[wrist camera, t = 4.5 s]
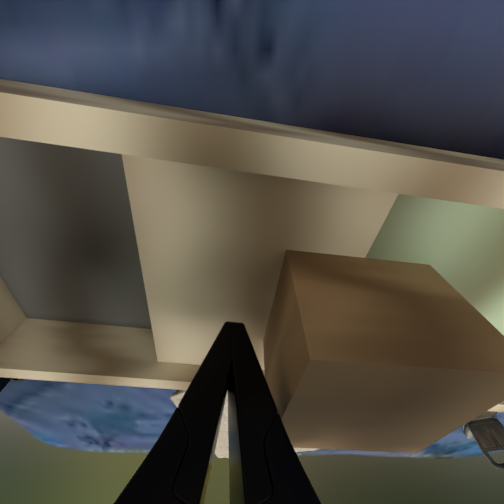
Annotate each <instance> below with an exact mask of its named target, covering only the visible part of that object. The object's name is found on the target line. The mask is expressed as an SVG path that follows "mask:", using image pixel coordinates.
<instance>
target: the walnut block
mask: <svg viewBox="0 0 504 504" xmlns="http://www.w3.org/2000/svg"><path fill="white" fill-rule="evenodd" d="M263 348H264V370H265V379H266V381H267V384H268V386H269V389H270V392H271V394H272V397H273V399H274V402H275V404H276V407H277V410H278V413H279V414H280V417H281V420H282V422H283V425H284V427H285V430H286V432H287V434H288V437H289V439H290V441H291V444H292V446H293V448H314V449H338V450H362V451H386V452H410V453H418V452H419V451H421V450H423V449H424V448H426V447H428V446H429V445H431V444H433V443H434V442H436V441H438V440H439V439H441V438H443V437H444V436H446V435H448V434H449V433H451V432H453V431H454V430H456V429H458V428H459V427H461V426H463V425H464V424H466V423H468V422H469V421H471V420H473V419H474V418H476V417H478V416H479V415H481V414H483V413H484V412H486V411H488V410H489V409H491V408H493V407H494V406H496V405H498V404H499V403H501V402H503V401H504V335H502V334H501V333H500V332H499V331H498V330H497V329H496V328H495V327H494V326H493V325H492V324H491V323H490V322H489V321H488V320H487V319H486V318H485V317H484V316H483V315H482V314H481V313H480V312H479V311H477V310H476V309H475V308H474V307H473V306H472V305H471V304H470V303H469V302H468V301H467V300H466V299H465V298H464V297H463V296H462V295H461V294H460V293H459V292H458V291H457V290H456V289H455V288H454V287H452V286H451V285H450V284H449V283H448V282H447V281H446V280H445V279H444V278H443V277H442V276H441V275H440V274H439V273H438V272H437V271H436V270H435V269H434V268H433V267H432V266H431V265H427V264H418V263H408V262H399V261H389V260H380V259H371V258H361V257H352V256H342V255H332V254H323V253H313V252H303V251H294V250H286V252H285V256H284V260H283V264H282V268H281V272H280V276H279V280H278V284H277V288H276V292H275V296H274V300H273V304H272V308H271V312H270V316H269V320H268V324H267V328H266V332H265V336H264V340H263Z"/></svg>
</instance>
